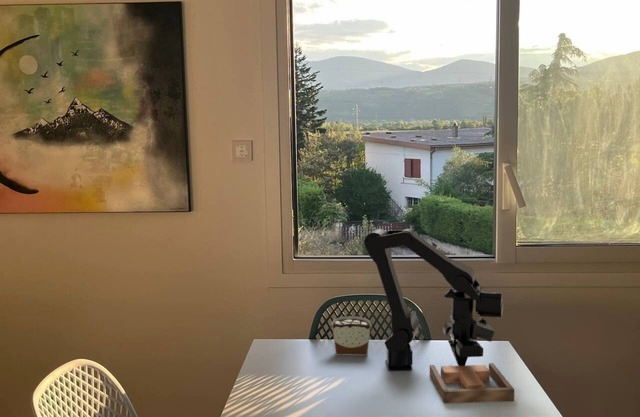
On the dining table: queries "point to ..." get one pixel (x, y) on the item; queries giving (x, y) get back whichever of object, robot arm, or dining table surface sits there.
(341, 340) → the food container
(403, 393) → the dining table surface
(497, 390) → the walnut bay
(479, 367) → the terracotta T block
